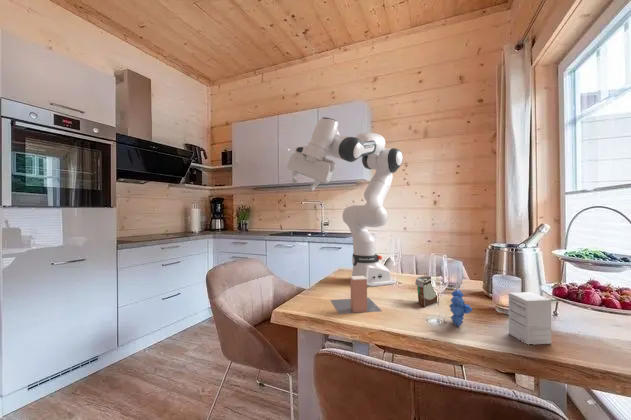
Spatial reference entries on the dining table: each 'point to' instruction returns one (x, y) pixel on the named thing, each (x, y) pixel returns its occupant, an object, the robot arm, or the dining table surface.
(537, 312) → the white drawer cabinet
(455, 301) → the grapes
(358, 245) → the robot arm
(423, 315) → the dining table surface
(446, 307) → the dining table surface
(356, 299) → the block
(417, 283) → the food container
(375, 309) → the slate board
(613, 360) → the dining table surface
